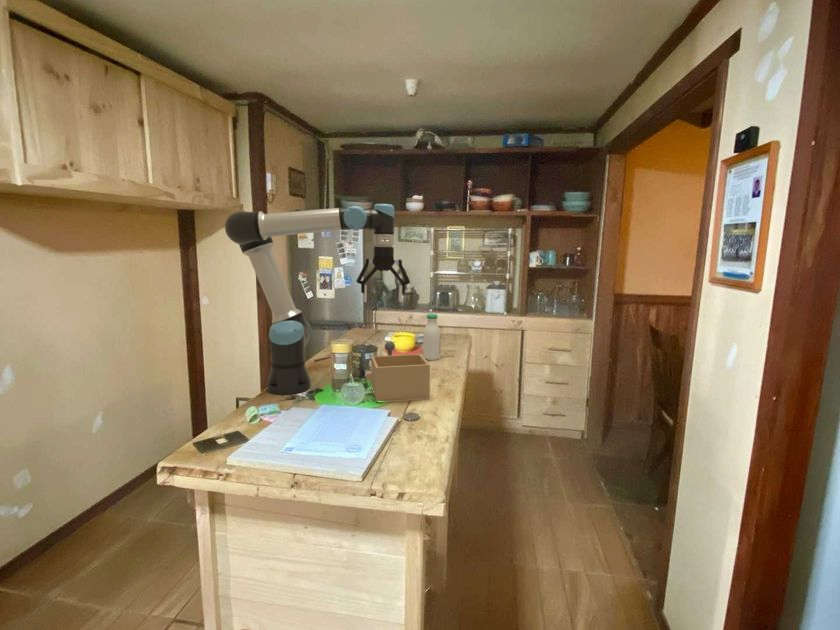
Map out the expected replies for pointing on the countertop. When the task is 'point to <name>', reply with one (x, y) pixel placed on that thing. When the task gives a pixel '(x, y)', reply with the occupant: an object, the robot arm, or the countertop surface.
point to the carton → (400, 377)
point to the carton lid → (389, 347)
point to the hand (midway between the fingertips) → (382, 301)
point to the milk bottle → (431, 339)
